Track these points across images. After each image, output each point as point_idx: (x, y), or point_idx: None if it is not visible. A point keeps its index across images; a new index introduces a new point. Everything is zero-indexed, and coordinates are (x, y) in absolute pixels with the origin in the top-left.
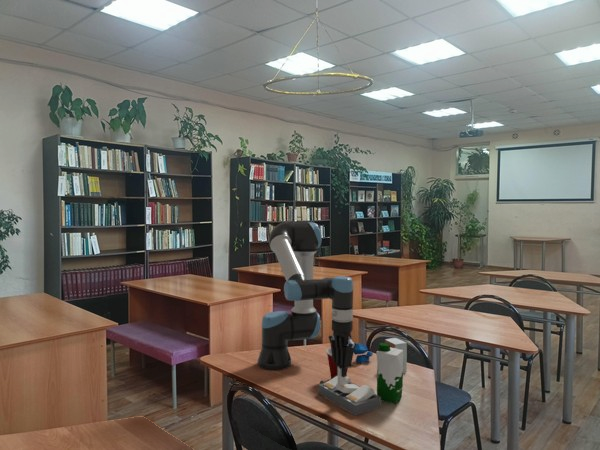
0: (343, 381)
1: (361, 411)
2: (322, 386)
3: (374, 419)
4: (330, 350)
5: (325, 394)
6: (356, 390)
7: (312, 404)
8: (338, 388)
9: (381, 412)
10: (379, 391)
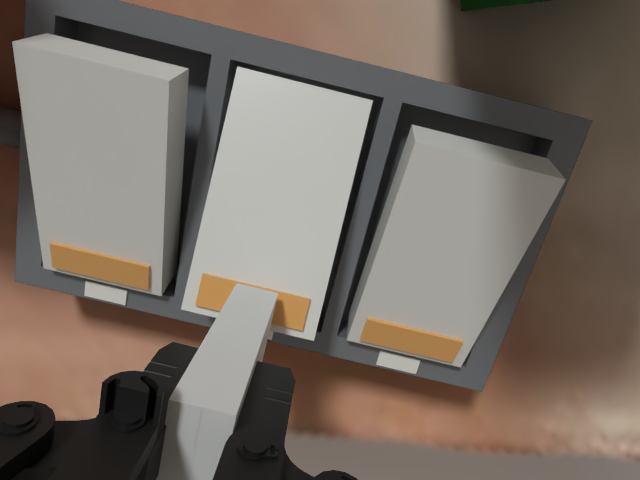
0: (265, 339)
1: None
2: (65, 289)
3: (589, 312)
4: None
5: None
6: (389, 253)
7: None
8: None
9: (591, 194)
10: (521, 3)
